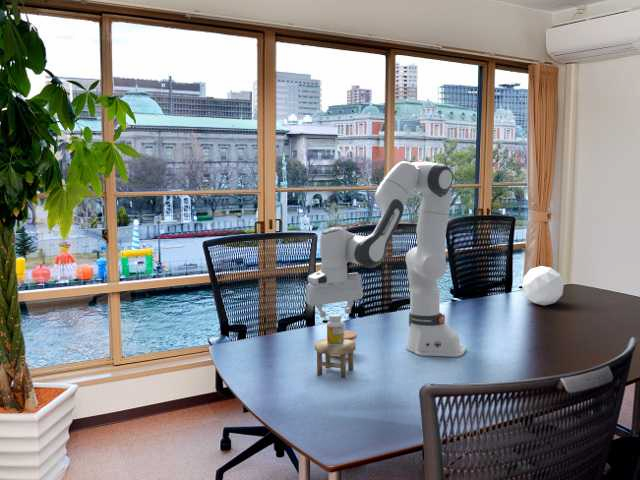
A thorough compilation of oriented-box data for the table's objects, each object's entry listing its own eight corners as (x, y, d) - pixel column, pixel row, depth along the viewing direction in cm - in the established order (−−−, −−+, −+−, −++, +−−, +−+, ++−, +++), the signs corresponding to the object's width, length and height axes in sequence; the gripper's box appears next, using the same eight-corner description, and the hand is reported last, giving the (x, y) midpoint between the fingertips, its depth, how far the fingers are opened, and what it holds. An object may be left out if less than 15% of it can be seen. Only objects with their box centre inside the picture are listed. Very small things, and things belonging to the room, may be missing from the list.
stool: (360, 367, 214) (360, 340, 212) (348, 381, 201) (348, 352, 199) (323, 363, 219) (322, 336, 217) (309, 376, 206) (308, 348, 204)
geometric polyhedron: (549, 319, 300) (559, 293, 286) (511, 301, 309) (519, 274, 295) (565, 295, 310) (575, 269, 296) (528, 278, 319) (535, 252, 305)
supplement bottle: (326, 342, 211) (325, 313, 210) (342, 341, 212) (342, 312, 210) (328, 346, 205) (327, 317, 204) (344, 346, 206) (344, 316, 205)
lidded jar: (360, 351, 233) (359, 327, 232) (352, 359, 223) (352, 334, 222) (333, 348, 236) (333, 325, 235) (324, 356, 226) (324, 332, 225)
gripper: (356, 270, 212) (358, 308, 214) (303, 277, 204) (304, 317, 206) (365, 273, 207) (366, 312, 209) (310, 280, 198) (312, 321, 200)
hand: (335, 315), depth 207 cm, fingers open, 8 cm apart
